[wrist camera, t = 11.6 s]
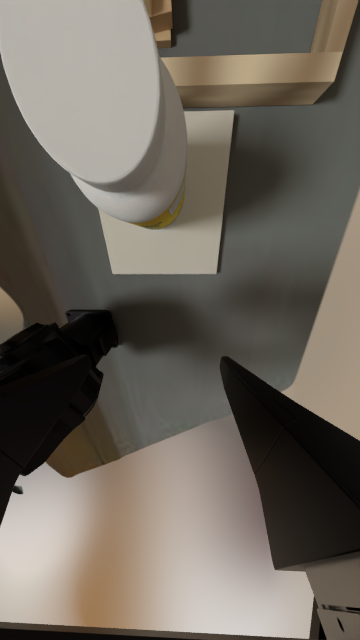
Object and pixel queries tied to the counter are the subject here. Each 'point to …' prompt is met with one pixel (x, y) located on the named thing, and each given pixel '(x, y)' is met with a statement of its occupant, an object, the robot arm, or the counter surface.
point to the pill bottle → (100, 102)
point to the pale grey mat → (182, 210)
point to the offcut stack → (160, 21)
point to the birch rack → (267, 69)
